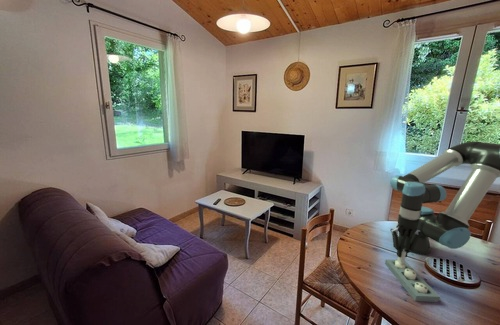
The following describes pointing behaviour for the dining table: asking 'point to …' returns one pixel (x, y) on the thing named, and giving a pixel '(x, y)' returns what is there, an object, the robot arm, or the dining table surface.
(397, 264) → the button
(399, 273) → the button board
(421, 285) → the button
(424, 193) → the robot arm
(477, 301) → the dining table surface
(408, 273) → the button
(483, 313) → the dining table surface
